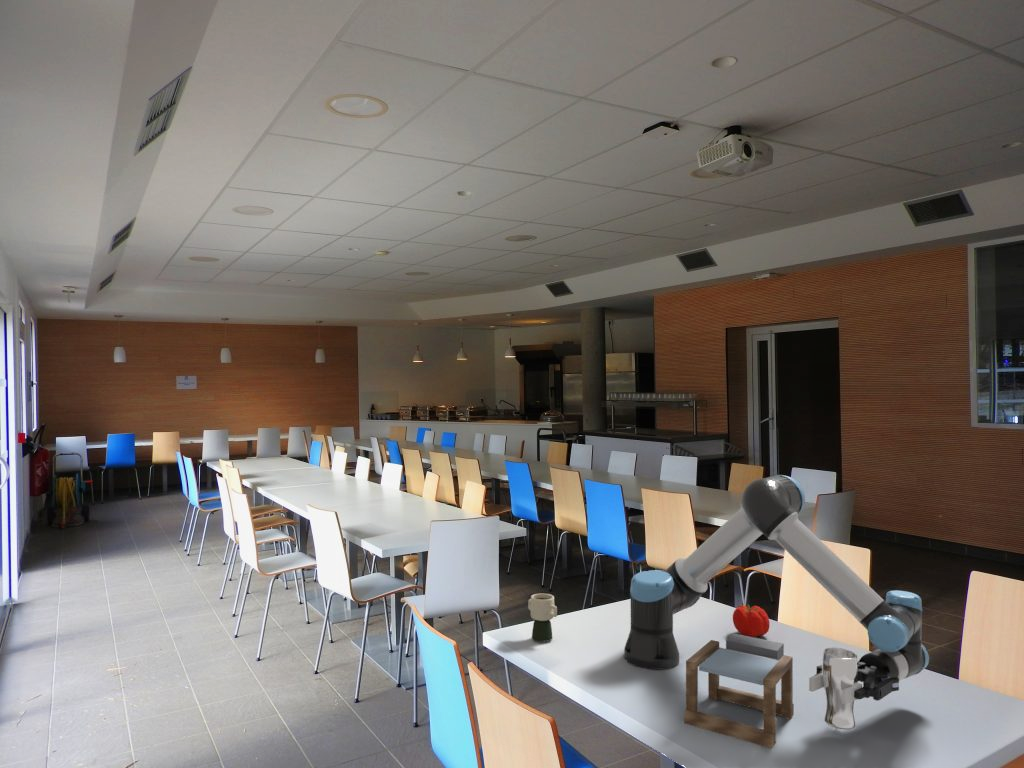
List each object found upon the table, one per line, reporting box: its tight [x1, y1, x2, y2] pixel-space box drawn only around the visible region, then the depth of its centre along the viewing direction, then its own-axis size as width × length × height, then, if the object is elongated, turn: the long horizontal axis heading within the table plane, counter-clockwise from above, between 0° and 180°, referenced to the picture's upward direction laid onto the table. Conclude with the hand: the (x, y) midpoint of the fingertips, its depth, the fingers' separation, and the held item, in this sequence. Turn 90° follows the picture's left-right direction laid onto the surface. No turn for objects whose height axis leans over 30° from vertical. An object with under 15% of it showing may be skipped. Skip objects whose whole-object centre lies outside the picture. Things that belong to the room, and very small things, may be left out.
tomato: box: [732, 604, 771, 638], centre depth 213 cm, size 11×11×9 cm
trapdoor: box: [698, 633, 785, 686], centre depth 160 cm, size 14×22×4 cm, turn 145°
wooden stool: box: [683, 639, 795, 749], centre depth 157 cm, size 19×19×14 cm
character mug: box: [527, 593, 558, 642], centre depth 207 cm, size 11×7×13 cm, turn 48°
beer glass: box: [821, 647, 859, 731], centre depth 148 cm, size 7×7×15 cm
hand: (827, 690), depth 145 cm, fingers closed on beer glass, 7 cm apart
